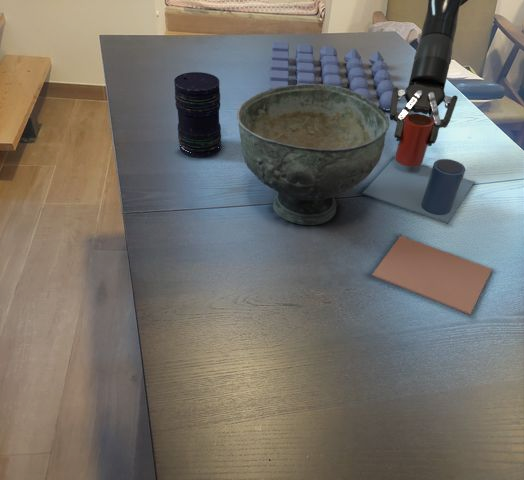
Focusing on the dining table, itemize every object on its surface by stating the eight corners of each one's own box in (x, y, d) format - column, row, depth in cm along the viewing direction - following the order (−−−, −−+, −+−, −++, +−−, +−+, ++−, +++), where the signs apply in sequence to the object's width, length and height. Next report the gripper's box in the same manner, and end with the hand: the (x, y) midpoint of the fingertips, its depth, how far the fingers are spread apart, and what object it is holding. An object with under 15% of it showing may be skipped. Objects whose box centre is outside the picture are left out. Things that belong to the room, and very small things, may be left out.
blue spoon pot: (454, 204, 108) (469, 164, 101) (445, 218, 104) (460, 177, 97) (426, 195, 110) (439, 155, 103) (416, 208, 106) (429, 168, 99)
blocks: (271, 58, 159) (272, 41, 156) (381, 65, 160) (385, 48, 156) (268, 107, 136) (269, 87, 132) (396, 115, 136) (401, 95, 133)
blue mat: (473, 183, 115) (474, 181, 114) (447, 223, 103) (448, 222, 103) (395, 158, 121) (395, 156, 120) (362, 194, 110) (362, 192, 109)
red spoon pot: (426, 158, 116) (438, 118, 109) (417, 169, 112) (428, 128, 106) (400, 150, 118) (411, 110, 111) (390, 161, 114) (400, 120, 108)
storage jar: (228, 144, 122) (228, 77, 110) (208, 162, 116) (206, 94, 104) (192, 134, 124) (188, 68, 113) (171, 151, 118) (164, 83, 107)
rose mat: (491, 270, 94) (492, 269, 94) (469, 315, 86) (470, 313, 86) (400, 237, 100) (400, 235, 99) (371, 275, 92) (372, 274, 91)
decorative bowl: (392, 200, 107) (412, 103, 92) (333, 264, 93) (346, 162, 78) (286, 165, 117) (289, 72, 102) (218, 218, 103) (210, 119, 88)
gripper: (461, 77, 112) (444, 153, 113) (395, 68, 114) (379, 143, 115) (470, 59, 105) (451, 141, 106) (399, 50, 107) (382, 130, 108)
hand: (414, 141), depth 111 cm, fingers closed on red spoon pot, 6 cm apart
